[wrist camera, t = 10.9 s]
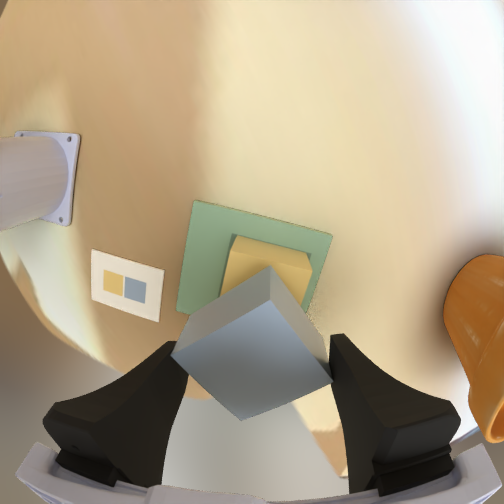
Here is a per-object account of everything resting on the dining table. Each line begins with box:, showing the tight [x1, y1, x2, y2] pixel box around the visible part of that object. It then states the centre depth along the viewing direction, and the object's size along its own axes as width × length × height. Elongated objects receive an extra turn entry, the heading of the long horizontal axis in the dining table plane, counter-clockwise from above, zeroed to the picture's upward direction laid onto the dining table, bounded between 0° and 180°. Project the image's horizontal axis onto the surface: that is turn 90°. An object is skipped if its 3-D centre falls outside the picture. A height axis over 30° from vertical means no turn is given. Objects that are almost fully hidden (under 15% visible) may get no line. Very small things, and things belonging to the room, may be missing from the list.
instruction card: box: [91, 249, 165, 323], centre depth 22 cm, size 7×5×1 cm
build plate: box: [176, 200, 333, 315], centre depth 21 cm, size 10×9×1 cm
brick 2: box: [171, 265, 333, 421], centre depth 13 cm, size 5×5×4 cm
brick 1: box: [220, 235, 313, 306], centre depth 19 cm, size 5×5×4 cm
